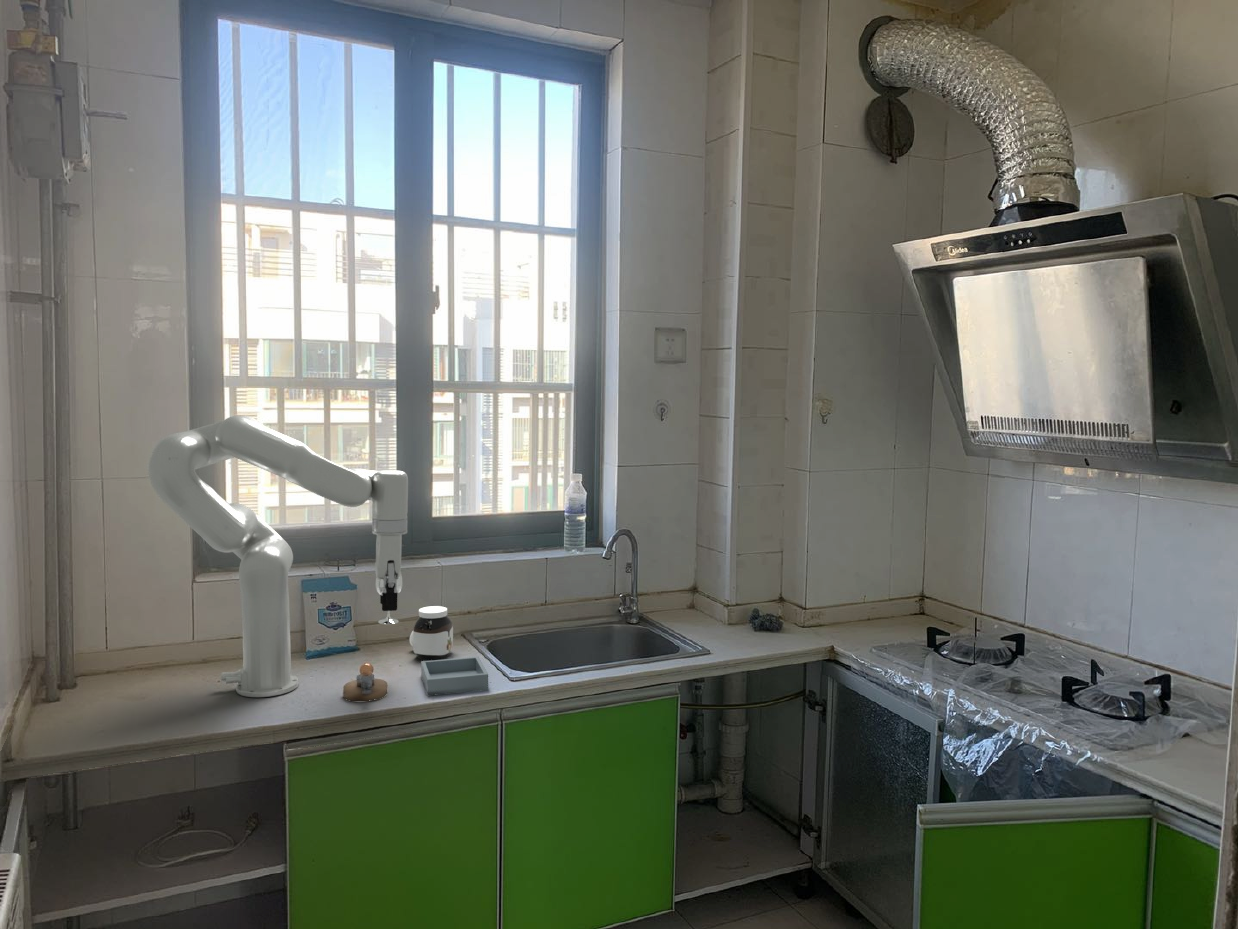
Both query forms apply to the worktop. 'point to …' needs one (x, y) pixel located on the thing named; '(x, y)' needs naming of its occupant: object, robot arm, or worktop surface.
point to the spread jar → (432, 634)
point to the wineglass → (381, 590)
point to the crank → (366, 678)
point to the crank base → (355, 694)
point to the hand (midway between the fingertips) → (388, 606)
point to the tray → (454, 675)
